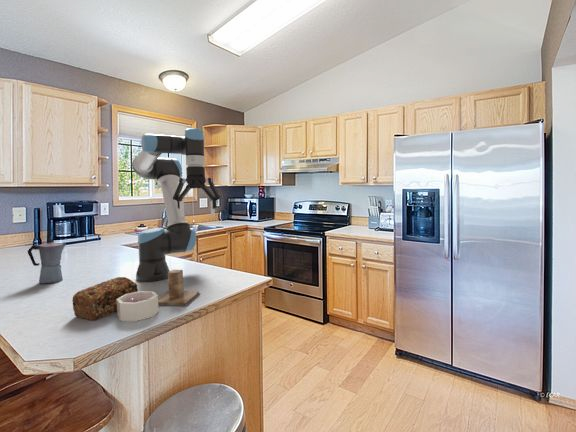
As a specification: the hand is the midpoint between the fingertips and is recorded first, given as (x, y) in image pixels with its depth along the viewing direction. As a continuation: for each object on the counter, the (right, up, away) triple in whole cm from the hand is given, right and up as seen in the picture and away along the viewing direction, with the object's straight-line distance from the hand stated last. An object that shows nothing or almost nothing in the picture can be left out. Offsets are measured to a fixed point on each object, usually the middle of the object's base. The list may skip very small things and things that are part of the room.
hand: (197, 216), depth 136 cm
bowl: (-13, -34, -27) cm, 45 cm away
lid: (-4, -32, -13) cm, 35 cm away
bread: (-26, -34, -22) cm, 48 cm away
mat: (-4, -32, -13) cm, 35 cm away
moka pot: (-72, -31, +12) cm, 79 cm away
